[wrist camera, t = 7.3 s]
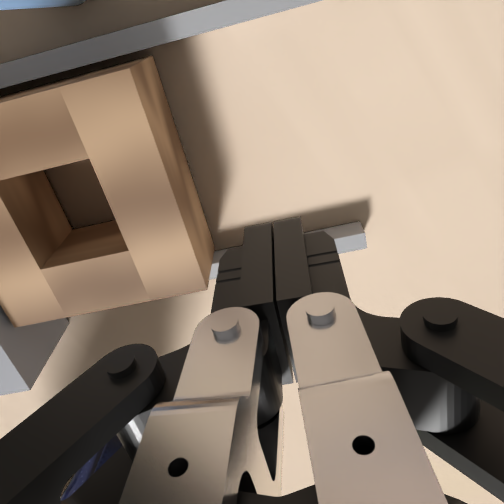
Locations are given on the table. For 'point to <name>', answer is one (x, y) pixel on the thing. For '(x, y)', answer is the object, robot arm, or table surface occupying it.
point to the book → (92, 466)
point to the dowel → (36, 3)
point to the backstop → (91, 51)
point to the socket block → (115, 189)
